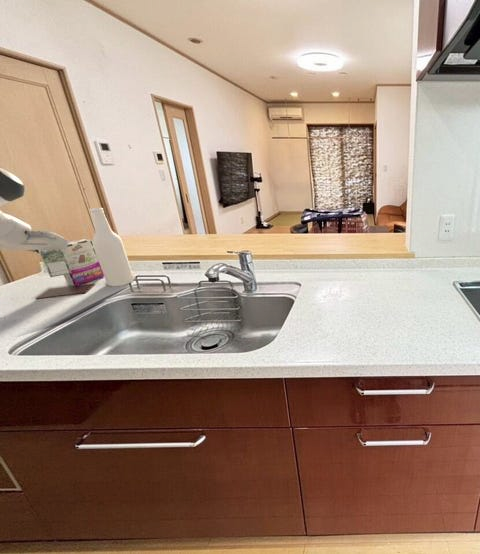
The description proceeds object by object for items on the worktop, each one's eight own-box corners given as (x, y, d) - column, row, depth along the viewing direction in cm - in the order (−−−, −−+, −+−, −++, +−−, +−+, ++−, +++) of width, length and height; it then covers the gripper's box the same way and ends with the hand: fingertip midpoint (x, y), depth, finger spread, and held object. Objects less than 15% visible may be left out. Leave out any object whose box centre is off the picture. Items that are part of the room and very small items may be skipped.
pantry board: (36, 299, 106) (35, 298, 106) (50, 289, 114) (49, 288, 114) (85, 293, 111) (84, 292, 111) (95, 284, 119) (95, 283, 119)
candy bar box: (97, 275, 128) (83, 238, 121) (105, 276, 126) (92, 239, 120) (66, 285, 118) (49, 245, 112) (74, 286, 116) (58, 246, 110)
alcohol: (138, 281, 122) (115, 208, 110) (112, 288, 115) (84, 211, 103) (129, 276, 126) (106, 205, 115) (104, 283, 119) (76, 209, 108)
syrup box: (69, 269, 113) (54, 233, 108) (72, 273, 110) (56, 235, 105) (48, 274, 109) (31, 236, 104) (50, 278, 106) (33, 238, 100)
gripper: (48, 223, 96) (85, 244, 109) (-18, 223, 95) (27, 244, 108) (40, 240, 93) (79, 259, 106) (-27, 240, 93) (20, 259, 105)
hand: (52, 251), depth 107 cm, fingers closed on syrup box, 8 cm apart
